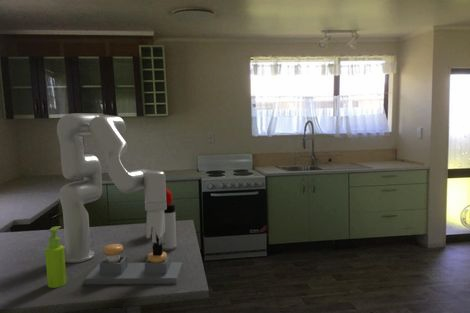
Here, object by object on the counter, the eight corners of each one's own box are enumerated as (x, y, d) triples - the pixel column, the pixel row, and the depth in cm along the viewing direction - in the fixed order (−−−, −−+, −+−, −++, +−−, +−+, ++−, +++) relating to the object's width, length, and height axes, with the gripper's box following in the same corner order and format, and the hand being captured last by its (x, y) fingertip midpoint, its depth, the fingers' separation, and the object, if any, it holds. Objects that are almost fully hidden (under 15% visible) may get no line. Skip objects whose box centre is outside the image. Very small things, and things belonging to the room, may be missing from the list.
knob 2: (146, 273, 131) (145, 258, 130) (150, 266, 137) (150, 251, 137) (165, 273, 131) (164, 258, 130) (168, 266, 137) (168, 251, 137)
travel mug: (162, 251, 158) (161, 206, 156) (161, 246, 164) (160, 203, 162) (177, 250, 160) (175, 205, 158) (175, 245, 166) (174, 202, 164)
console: (84, 284, 127) (84, 267, 127) (99, 268, 141) (99, 253, 141) (176, 283, 127) (176, 266, 127) (182, 267, 141) (182, 252, 140)
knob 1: (101, 266, 130) (100, 250, 130) (107, 258, 137) (107, 244, 137) (120, 266, 130) (119, 250, 130) (125, 258, 137) (125, 243, 137)
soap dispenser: (70, 278, 132) (67, 224, 130) (61, 287, 125) (58, 230, 123) (53, 279, 132) (50, 225, 130) (44, 288, 125) (40, 231, 123)
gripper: (150, 201, 139) (152, 247, 141) (140, 210, 124) (142, 262, 126) (170, 200, 139) (171, 247, 141) (162, 210, 124) (164, 262, 126)
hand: (157, 254), depth 133 cm, fingers closed
